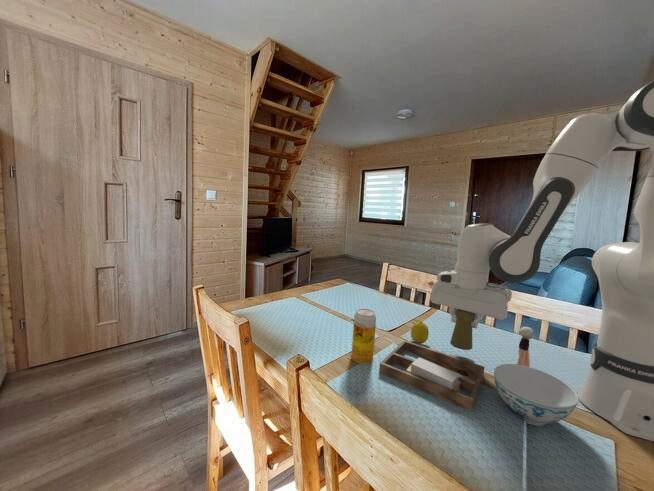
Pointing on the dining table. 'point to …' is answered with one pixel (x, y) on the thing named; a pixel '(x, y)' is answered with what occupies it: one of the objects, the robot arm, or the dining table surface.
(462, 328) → the brown tall rounded piece
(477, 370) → the walnut divided tray
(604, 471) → the dining table surface
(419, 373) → the grey offcut
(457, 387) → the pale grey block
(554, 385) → the chinaware
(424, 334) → the lemon
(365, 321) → the beer can
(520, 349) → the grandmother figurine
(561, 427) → the dining table surface
